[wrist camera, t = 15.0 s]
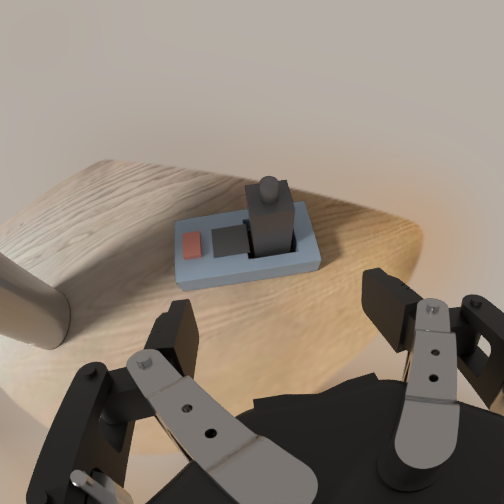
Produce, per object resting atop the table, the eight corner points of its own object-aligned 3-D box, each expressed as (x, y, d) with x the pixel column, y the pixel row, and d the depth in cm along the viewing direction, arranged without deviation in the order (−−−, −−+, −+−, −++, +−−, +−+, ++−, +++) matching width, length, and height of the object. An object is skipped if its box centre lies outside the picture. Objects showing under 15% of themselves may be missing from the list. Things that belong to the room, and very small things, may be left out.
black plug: (256, 263, 33) (248, 202, 22) (251, 237, 34) (242, 171, 24) (289, 258, 33) (296, 195, 22) (283, 232, 34) (287, 165, 24)
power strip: (183, 291, 32) (173, 279, 28) (181, 233, 35) (172, 217, 32) (317, 270, 32) (322, 256, 28) (302, 214, 35) (305, 196, 32)
